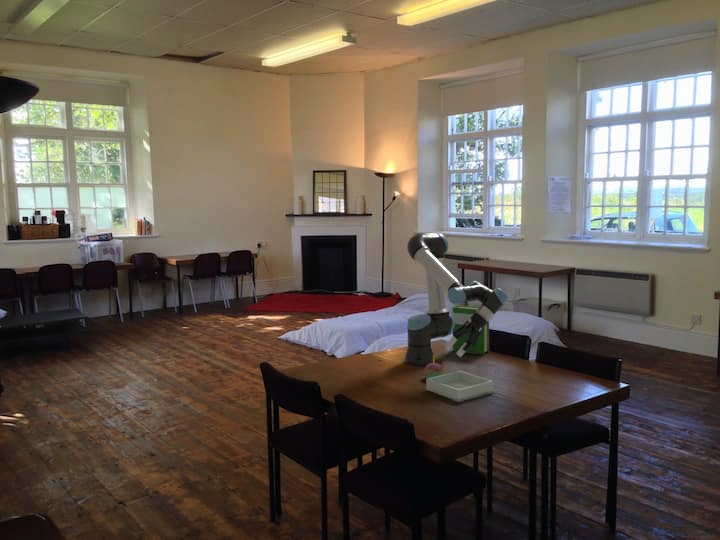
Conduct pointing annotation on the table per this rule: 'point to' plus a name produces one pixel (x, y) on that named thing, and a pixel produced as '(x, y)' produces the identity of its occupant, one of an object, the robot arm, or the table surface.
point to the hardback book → (482, 344)
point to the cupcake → (434, 369)
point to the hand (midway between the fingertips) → (452, 351)
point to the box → (459, 386)
